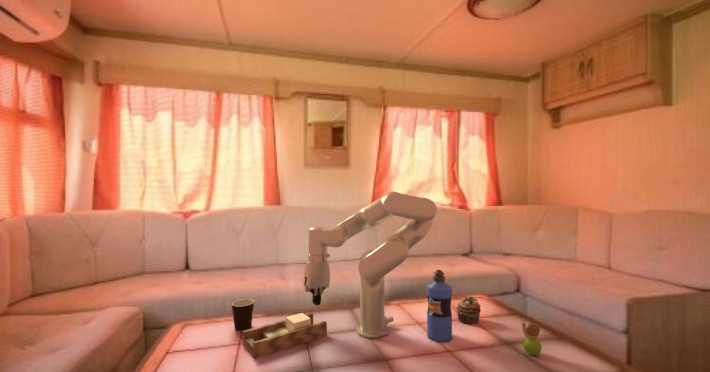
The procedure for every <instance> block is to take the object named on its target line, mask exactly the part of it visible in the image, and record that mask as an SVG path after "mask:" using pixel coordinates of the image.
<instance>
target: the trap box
mask: <svg viewBox="0 0 710 372" xmlns="http://www.w3.org/2000/svg"><path fill="white" fill-rule="evenodd" d="M305 315H306V316H308V317H309V318H311V325H309V326H306V327H302V328H299V329H296V330H292V331H289V330H288V329H287V328H286V319H283V320H279V321H276V322H272V323H267V324H264V325H261V326H258V327H251V328H249V329H247V330H243V331H242V345H243V346H244V348H245V349H246V350H247V352H248V353H249V354H250V355H251V356H252V357H253V358H254V359H258V358H261V357H265V356H267V355H270V354H273V353H277V352H280V351H283V350H286V349H289V348H292V347H296V346H298V345H301V344H304V343H308V342H311V341H313V340H317V339H320V338H323V337H326V336H328V329H327V328H328V323H327V321H325V320H324V321H320V322H316V323H314V313H313V312H309V313H305Z"/></svg>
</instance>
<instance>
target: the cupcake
mask: <svg viewBox="0 0 710 372" xmlns="http://www.w3.org/2000/svg"><path fill="white" fill-rule="evenodd" d="M457 305H458V306H456V309H455V310H456V314H457V319H458V322H459V323H461V324H463V325H466V326H474V325H478V324H479V319H480V315H481V305H480V303H479V302H478V299H476V298H474V297H473V296H470V297H468V296H464V298H462V299H461V300H460V301H459V302H458V304H457Z"/></svg>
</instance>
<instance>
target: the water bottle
mask: <svg viewBox="0 0 710 372" xmlns="http://www.w3.org/2000/svg"><path fill="white" fill-rule="evenodd" d="M433 274H434V275H432V277H433V278H432V279H433V281H432V282H430V283H428V284H427V285H426V296H427V306H428V307H427V312H426V317H427V318H426V322H427V324H426V325H427V326H426V329H427V330H426V331H427V332H426V334H427V335H426V336H427V337H426V338H428V339H429V340H430V341H432V342H436V343H449V342H450V341H452V340H453V322H452V321H453V314H452V306H451V305H452V297H453V286H452V285H450V284H449V283H446V282H445V281H446V276H445V272H443V270H442V269H437V270H435V271H434V272H433Z"/></svg>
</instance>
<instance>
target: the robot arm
mask: <svg viewBox="0 0 710 372" xmlns="http://www.w3.org/2000/svg"><path fill="white" fill-rule="evenodd" d="M437 214H438V207H437V205H436V203H435V202H434V201H433V200H432V199H431V198H428V197H424V196H423V197H420V196H415V195H410V194H404V193H401V192H398V191H390V192H388V193H386V194H384V195H383V196H381V197H379V198H378V199H376V200H374V201H373V202H371V203H369V204H367V205H366V206H364V207H362V208H361V209H359V210H358V211H356V213H354V214H353V215H351V216H349V217H348V218H346V219H345V220H343V221H341V222H340V223H338V224H336V225H335V226H333V227H331V228H327V227H325V226H311V227H309V229H308V249H307V252H308V253H307V261H306V262H305V264H304V270H303V278H302V284H303V286H304V289H303V290H304V291H305V292H307V293H311V294H312V299H311V300H312V304H313V305H314V306H316V307H317V306H321V303H322V302H321V301H322V295H323V293H324V291H325V290H326V289H328V288H329V287H330V284H331V269H330V262H329V260H328V258H330V256H331V255H330V254H329V253H328V247H330V248H340V247H342V246H343V245H344V244H345V243H346V241H348V240H349V239H351V238H353V237H354V236H355V235H357V234H359V233H362V232H363V231H367V230H370V229H373V228H375V227H377V226H378V225H380V224H381V223H383V222H385V221H387V220H388V219H389V218H392V217H393V216H395V217H399V218H404V219H409V220H408V222H406V223H405V224H404V225H402V226H401V227H400V228H399V229H397V230H396V231H394V232H393V233H391V234H390V235H388V236H387V237H386V238H385V239H384V240H383V242H382V244H381V245H380V246H378V247H377V248H376V249H369V250H366V251H364V252H363V253H362V255H361V257H360V259H359V262H358V273H359V304H360V305H359V306H360V307H359V308H360V309H359V312H360V314H359V321H360V322H359V324H358V325H357V326H356V328H355V329H356V333H357V335H359V336H361V337H363V338H367V339H378V338H382V337H385V336H387V335H388V334H389V332H390V331H389V326H388V324H389V323H393V322H394V317H393V316H388V317H387V316H386V315H385V276H386V275H388V274H389V273H390V272H392V271H394V270H395V269H396V268H397V267H399V266H400V265H401V264H403V263H404V261H405V260H406V259H407V257H408V254H409V250H411V249H412V248H414V246H416V245H418V243H420V242H421V241H423V239H424V238H425V237H427V235H428V234H429V232H430V230H431V228H432V226H433V221H434V219H435V217H436V216H437Z"/></svg>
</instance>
